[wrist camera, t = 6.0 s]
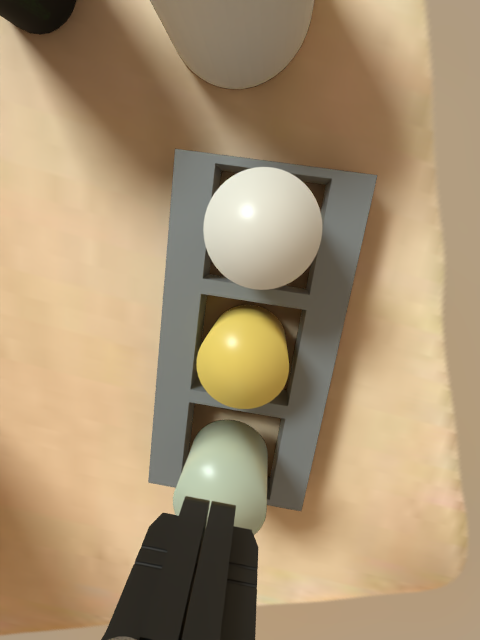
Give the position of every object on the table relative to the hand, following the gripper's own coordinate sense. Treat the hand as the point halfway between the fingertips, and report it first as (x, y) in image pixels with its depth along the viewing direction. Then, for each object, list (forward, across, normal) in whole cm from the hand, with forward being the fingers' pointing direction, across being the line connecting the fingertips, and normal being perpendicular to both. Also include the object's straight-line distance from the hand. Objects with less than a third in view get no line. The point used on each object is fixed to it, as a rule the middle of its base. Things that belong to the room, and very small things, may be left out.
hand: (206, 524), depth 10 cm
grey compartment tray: (+16, 0, 0) cm, 16 cm away
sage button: (+14, 0, +7) cm, 16 cm away
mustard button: (+16, 0, -1) cm, 16 cm away
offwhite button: (+14, 0, -8) cm, 16 cm away
